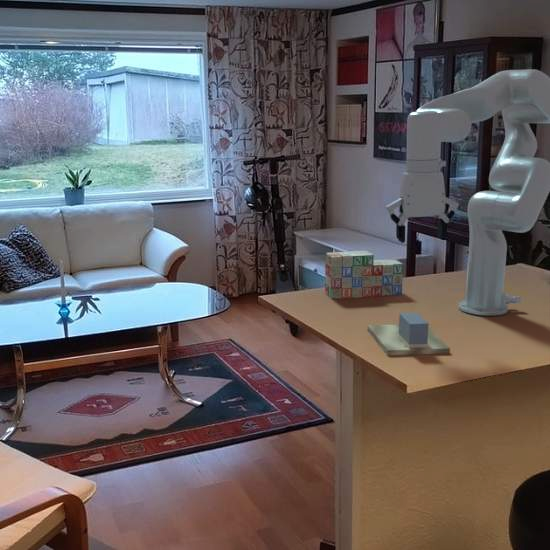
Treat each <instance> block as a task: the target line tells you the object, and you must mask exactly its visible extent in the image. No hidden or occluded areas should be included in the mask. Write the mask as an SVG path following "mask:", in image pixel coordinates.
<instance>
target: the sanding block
mask: <svg viewBox="0 0 550 550" xmlns="http://www.w3.org/2000/svg"><path fill="white" fill-rule="evenodd" d="M398 315H399V317H398V324H399V334H398V337H399V338H400V339H401V340H402V341H403V342H404V343H405V344H406V346H407V347H408V348H423V347H427V342H428V328H429V326H430V325H429V322H428V321H426V319H424V318H423V317H422V316H421V315H420V314H419V313H418V312H410V313H409V312H405V313H404V312H403V313H399V314H398Z"/></svg>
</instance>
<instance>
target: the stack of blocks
mask: <svg viewBox="0 0 550 550" xmlns="http://www.w3.org/2000/svg"><path fill="white" fill-rule="evenodd" d="M374 257H375V256H374V254H373V253H371V252H369V251H367V250H355V251H354V250H353V251H352V250H351V251H349V250H348V251H335V252H325V268H324V272H325V273H324V275H325V283H324V284H325V285H324V286H325V290H324V291H325V295H326V296H328V297H329V298H330V297H331V298H333V299H351V298H353V297H354V298H367V297H368V296H369V298H370V297H381V296H384V297H385V295H387V296H398V295H399V296H400V295H403V282H404V281H403V279H404V274H403V272H404V263H402V262H400V261H399V260H397V259H380V260H379V259H376V260H375V259H374ZM331 298H330V299H331ZM354 298H353V299H354Z"/></svg>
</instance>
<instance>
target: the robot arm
mask: <svg viewBox="0 0 550 550" xmlns="http://www.w3.org/2000/svg"><path fill="white" fill-rule="evenodd" d="M499 112H501V115H502V119H503V124H504V134H505V135H504V136H505V137H504V140H503V143H502V145H501V148H500V150H499V152H498V154H497V156H496V158H495V160H494V163H493V164H492V167H491V169H490V171H489V176H488V183H489V185H490V187H491V188H492V189H493V190H483V191H478V192H476V193H475V194H473V195H472V196H471V197H470V199H469V201H468V204H467V219H468V227H469V228H468V229H469V230H468V231H469V243H468V255H467V257H468V258H467V269H466V285H465V299H464V300H462V301H460V302H459V303H458V309H459V310H461V311H462V312H463V313H467V314H470V315H475V316H476V315H477V316H484V317H485V316H486V317H488V316H489V317H490V316H502V315H504V314H507V313H508V312H509V311H508V310H509V308H508V305H509V304H520V303H521V296H520V295H511V294H506V293H505V292H504V285H505V278H506V277H505V275H506V262H507V251H508V243H507V240H506V237H505V234H504V233H503V231H505V232H513V233H520V234H521V233H522V234H523V233H527V232H529V231H530V230H531V229H532V228H533V227H534V226H535V223H537V222H536V221H537V220H538V218H539V215H540V214H541V211H542V208H543V207H544V205H545V203H546V200H547V199H548V196H549V193H550V162H549V160H546V159H545V158H542V157H541V158H540V157H535V154H536V152H537V149H538V142H537V141H538V140H537V138H536V136H535V134H534V132H533V130H532V128H531V125H530V124H550V76H549V75H547V74H546V73H544V72H543V71H542V70H538V69H536V68H535V69H530V68H529V69H508V70H506V69H505V70H502V71H498V72H497V73H495V74H493V75H491V76H489V77H488V78H487V79H485V80H483V81H482V82H479V83H478V84H476V85H474V86H472V87H469V88H466V89H462V90H459V91H457V92H454V93H451V94H447V95H444V96H441V97H438V98H435V99H433V100H431V101H429V102H426V103H425V104H423V105H421V106H420V107H419V108H417V110H415V111H412V112H410V113H409V114H408V115H407V121H406V167H405V169H406V170H405V171H406V172H402V175H401V179H400V185H399V191H398V199H396V200H395V201H393V202H390V203H389V204H388V205H385V207H384V208H385V209H384V210H385V211H386V213H387V215H388V217H389V218H390V219H391V221H392V222H394V223H395V224H396V228H395V229H396V230H395V231H396V234H395V235H396V237H395V238H396V239H397V240H398V241H399V242H401V244H402V243H403V244H404V243H405V242H406V225H404V224H405V223H406V221H407V220H408V219H409V218H420V217H421V218H422V217H423V218H424V217H436V216H437V218H438V219H439V220H438V222H437V231H436V232H437V234H436V235H437V236H436V237H437V238H438V239H440V240H441V241H445V240H446V236H447V234H448V223H450V220H451V219H452V218H453V217H454V216H455V215H456V211H457V210H458V208H459V202H457V201H455V200H453V199H451V198H449V197H447V196H446V188H445V179H444V174H443V172H442V171H441V170H442V168H443V167H446V166H447V161H446V160H442V158H441V151H442V150H441V149H442V147H441V146H442V145H441V144H442V143H443V142H445V143H458V142H461V141H462V140H464V139H466V137H467V136H468V135H469V134H470V132H471V130H472V124H473V123H478V122H483V121H486V120H488V119H491V118H492V117H494V116H495V115H497V114H499ZM446 204H447V205H449V209H448V210H447V211H446ZM395 209H397V210H398V213H399V214H398V215H396V213H395ZM445 211H446V212H445Z"/></svg>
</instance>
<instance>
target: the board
mask: <svg viewBox="0 0 550 550" xmlns="http://www.w3.org/2000/svg"><path fill="white" fill-rule="evenodd" d="M367 332H368V333H369V334H370V335H371V336H372V337H373V339H374V340H375V341H376V343H377V344H378V345H379V346H380V348H381V350H383V352H384V353H385V354H386V356H391V357H392V356H416V355H439V354H440V355H441V354H442V355H443V354H450V351H451V347H449V346H448V345H447V343H445V342H444V341H443V340H442V339H441V338H440V337H439V336H438V335H436V334H435V333H434V332H433V331H432V330H431V328H430V327H428V342H427V347H423V348H408V347H407V346H406V344H405V343H404V342H403V341H402V340H401V339H400V338H399V337H398V334H399V323H398V324H373V325H372V324H370V325H369V324H368V325H367Z"/></svg>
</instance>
